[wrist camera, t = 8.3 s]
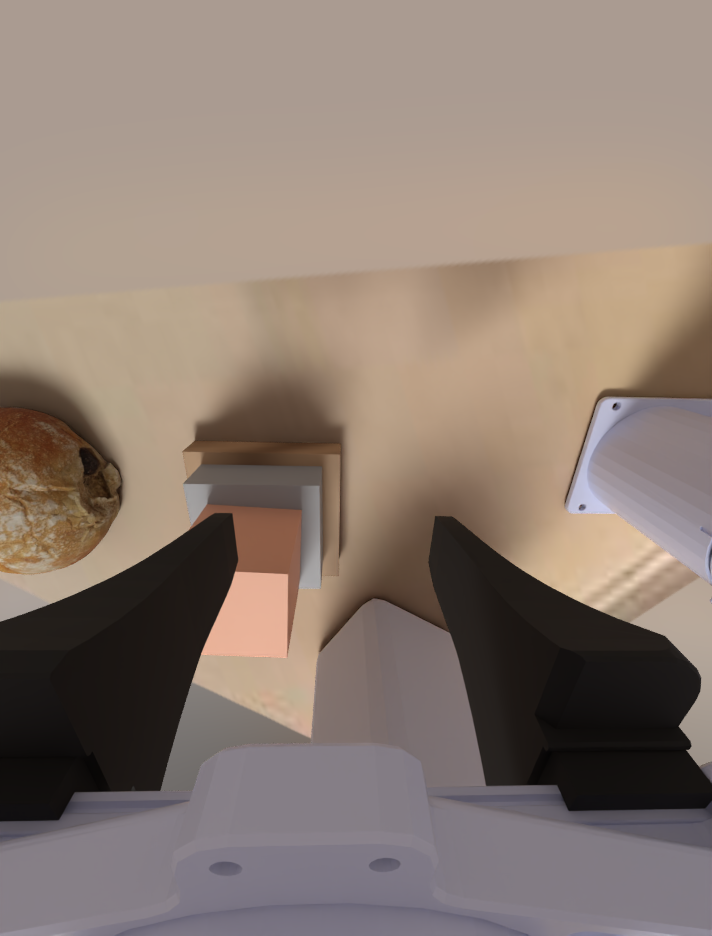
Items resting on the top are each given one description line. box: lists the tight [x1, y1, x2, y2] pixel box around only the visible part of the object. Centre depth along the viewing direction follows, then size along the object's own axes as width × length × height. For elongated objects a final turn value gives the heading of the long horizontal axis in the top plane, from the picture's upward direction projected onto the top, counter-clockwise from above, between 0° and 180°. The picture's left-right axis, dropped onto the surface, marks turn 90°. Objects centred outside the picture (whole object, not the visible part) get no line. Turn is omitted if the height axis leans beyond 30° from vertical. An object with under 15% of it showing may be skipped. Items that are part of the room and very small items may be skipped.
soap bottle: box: [311, 598, 486, 787], centre depth 18 cm, size 9×9×25 cm
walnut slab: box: [183, 441, 341, 576], centre depth 23 cm, size 9×9×2 cm
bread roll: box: [0, 407, 122, 574], centre depth 20 cm, size 10×10×8 cm
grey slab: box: [183, 464, 323, 589], centre depth 21 cm, size 7×7×2 cm
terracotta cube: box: [188, 504, 302, 658], centre depth 17 cm, size 5×5×5 cm
